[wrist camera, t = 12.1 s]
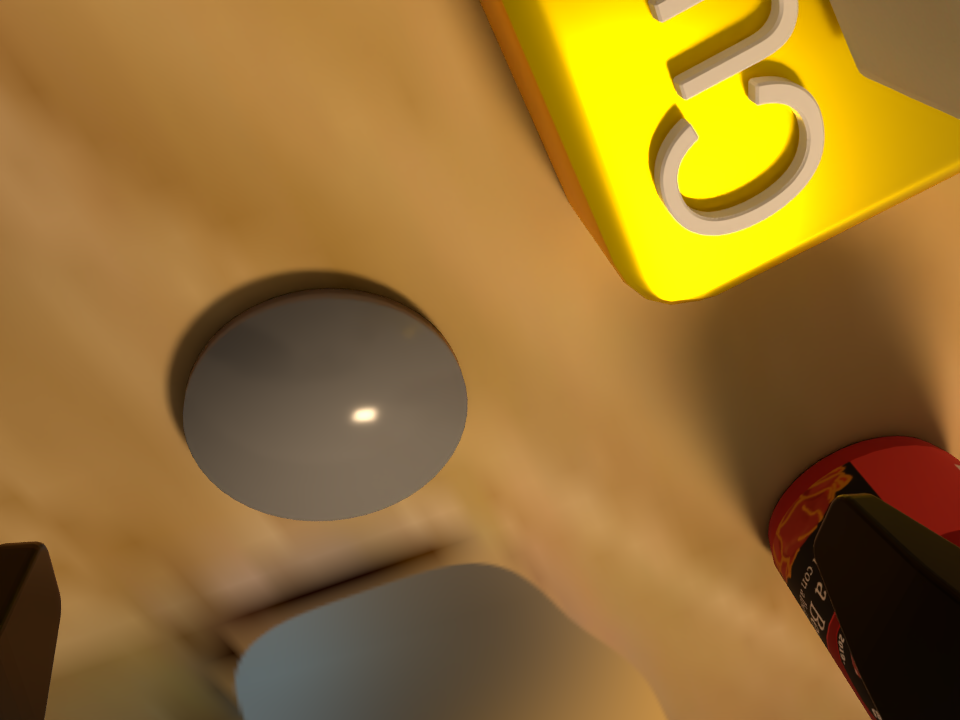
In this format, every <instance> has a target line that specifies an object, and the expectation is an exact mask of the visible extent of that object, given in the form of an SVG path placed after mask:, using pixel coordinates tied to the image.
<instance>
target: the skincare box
mask: <svg viewBox="0 0 960 720" xmlns="http://www.w3.org/2000/svg"><path fill="white" fill-rule="evenodd" d="M830 3H831V5H832V8H833V10H834V13H835V15H836V18H837V20H838V23H839V25H840V28H841V30H842V33H843V35H844V38H845V40H846V42H847V45H848V47H849V50H850V52H851V55H852V57H853V59H854V62H855V64H856V67H857V68H858V70H859V72H860V73H861V74H862V75H863V76H864V77H866V78H868V79H870V80H873V81H875V82H878V83H880V84H882V85H884V86H886V87H889V88H891V89H893V90H895V91H897V92H899V93H901V94H904V95H906V96H908V97H910V98H912V99H915V100H917V101H920V102H922V103H924V104H926V105H928V106H931V107H933V108H935V109H938V110H940V111H942V112H944V113H947V114H949V115H951V116H953V117H955V118H957V119H959V120H960V0H830Z"/></svg>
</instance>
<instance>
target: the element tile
mask: <svg viewBox="0 0 960 720" xmlns="http://www.w3.org/2000/svg"><path fill="white" fill-rule="evenodd" d="M479 1H480V3H481V5H482V8H483V10H484V12H485V15H486V17H487V19H488V21H489V24H490V26H491V28H492V30H493V33H494V35H495V37H496V39H497V42H498V44H499V46H500V48H501V51H502V53H503V55H504V57H505V60H506V62H507V64H508V66H509V69H510V71H511V73H512V75H513V78H514V80H515V82H516V84H517V87H518V89H519V91H520V93H521V96H522V98H523V100H524V102H525V105H526V107H527V109H528V111H529V114H530V116H531V118H532V121H533V123H534V125H535V127H536V130H537V132H538V134H539V136H540V139H541V141H542V143H543V145H544V148H545V150H546V152H547V154H548V157H549V159H550V161H551V163H552V166H553V168H554V170H555V172H556V175H557V177H558V179H559V181H560V184H561V186H562V188H563V190H564V193H565V195H566V197H567V199H568V202H569V203H570V205H571V206H572V208H573V209H574V211H575V212H576V214H577V215H578V217H579V218H580V220H581V221H582V222H583V224H584V225H585V227H586V228H587V230H588V231H589V233H590V234H591V235H592V237H593V238H594V240H595V241H596V243H597V244H598V246H599V247H600V248H601V250H602V251H603V253H604V254H605V256H606V257H607V259H608V260H609V261H610V263H611V264H612V266H613V267H614V269H615V270H616V272H617V273H618V274H619V276H620V277H621V279H622V280H623V282H625V283H626V284H627V285H628V286H630V287H631V288H632V289H634V290H635V291H636V292H637V293H639V294H640V295H641V296H643V297H644V298H646V299H648V300H653V301H657V302H661V303H666V304H670V305H672V304H679V303H686V302H693V301H700V300H703V299H707V298H710V297H713V296H717V295H719V294H721V293H723V292H725V291H727V290H728V289H730V288H732V287H734V286H736V285H738V284H740V283H742V282H744V281H746V280H748V279H750V278H752V277H754V276H756V275H758V274H760V273H762V272H764V271H766V270H768V269H770V268H772V267H774V266H776V265H778V264H780V263H782V262H784V261H786V260H788V259H790V258H792V257H794V256H796V255H798V254H800V253H802V252H804V251H806V250H808V249H810V248H812V247H814V246H816V245H818V244H820V243H822V242H824V241H826V240H828V239H830V238H832V237H834V236H836V235H838V234H839V233H841V232H843V231H845V230H847V229H849V228H851V227H853V226H855V225H857V224H859V223H861V222H863V221H865V220H867V219H869V218H871V217H873V216H875V215H877V214H879V213H881V212H883V211H885V210H887V209H889V208H891V207H893V206H895V205H897V204H899V203H901V202H903V201H905V200H907V199H909V198H911V197H913V196H915V195H917V194H919V193H921V192H923V191H925V190H927V189H929V188H931V187H933V186H935V185H937V184H939V183H941V182H943V181H945V180H947V179H949V178H951V177H952V176H954V175H956V174H958V173H960V120H959V119H957V118H955V117H953V116H951V115H949V114H947V113H944V112H942V111H940V110H938V109H935V108H933V107H931V106H928V105H926V104H924V103H922V102H920V101H917V100H915V99H912V98H910V97H908V96H906V95H904V94H901V93H899V92H897V91H895V90H893V89H891V88H889V87H886V86H884V85H882V84H880V83H878V82H875V81H873V80H870V79H868V78H866V77H864V76H863V75H862V74H861V73H860V72H859V70H858V68H857V67H856V64H855V62H854V59H853V57H852V55H851V52H850V50H849V47H848V45H847V42H846V40H845V38H844V35H843V33H842V30H841V28H840V25H839V23H838V20H837V18H836V15H835V13H834V10H833V8H832V5H831V3H830V0H479Z"/></svg>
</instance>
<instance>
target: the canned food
mask: <svg viewBox="0 0 960 720" xmlns="http://www.w3.org/2000/svg"><path fill="white" fill-rule="evenodd" d="M859 493H867V494H872V495H874V496H876V497H878V498H879V499H881V500H883V501H884V502H886V503H888V504H889V505H891V506H892V507H894V508H896V509H897V510H899V511H901V512H902V513H904V514H906V515H907V516H909V517H911V518H912V519H914V520H915V521H917V522H919V523H920V524H922V525H924V526H925V527H927V528H929V529H930V530H932V531H933V532H935V533H937V534H938V535H940V536H942V537H943V538H945V539H947V540H948V541H950V542H951V543H953V544H955V545H956V546H958V547H960V461H959V460H958V459H956V458H955V457H954V456H952V455H951V454H949V453H948V452H946V451H944V450H942V449H940V448H938V447H936V446H935V445H933V444H931V443H929V442H926V441H923V440H920V439H917V438H914V437H905V436H890V437H879V438H875V439H871V440H866V441H862V442H859V443H856V444H853V445H851V446H848V447H845V448H842V449H840V450H838V451H837V452H835V453H833V454H831V455H829V456H827V457H825V458H823V459H822V460H820V461H819V462H818V463H816V464H815V465H813V466H812V467H810V468H809V469H808V470H806V471H805V472H804V473H803V474H802V475H801V476H800V477H799V478H797V479H796V480H795V481H794V482H793V484H792V485H791V486H790V487H789V488H788V489H787V491H786V492H785V493H784V494H783V495H782V497H781V499H780V500H779V502H778V504H777V505H776V507H775V509H774V511H773V514H772V516H771V519H770V522H769V530H768V538H769V543H770V548H771V552H772V556H773V560H774V564H775V566H776V568H777V569H778V571H779V573H780V574H781V576H782V578H783V579H784V581H785V582H786V584H787V586H788V587H789V589H790V590H791V592H792V594H793V595H794V597H795V598H796V600H797V601H798V603H799V605H800V606H801V608H802V609H803V611H804V613H805V614H806V616H807V617H808V619H809V621H810V622H811V624H812V625H813V627H814V628H815V630H816V632H817V633H818V635H819V636H820V638H821V640H822V641H823V643H824V644H825V646H826V648H827V649H828V651H829V652H830V654H831V656H832V657H833V659H834V660H835V662H836V663H837V665H838V667H839V668H840V670H841V671H842V673H843V675H844V676H845V678H846V679H847V681H848V683H849V684H850V686H851V687H852V689H853V691H854V692H855V694H856V695H857V697H858V698H859V700H860V702H861V703H862V705H863V706H864V708H865V710H866V711H867V713H868V714H869V716H870V718H871V719H872V720H882V719H881V717H880V715H879V713H878V711H877V709H876V707H875V705H874V703H873V701H872V699H871V697H870V695H869V693H868V691H867V689H866V687H865V685H864V683H863V681H862V678H861V676H860V674H859V672H858V670H857V667H856V665H855V662H854V660H853V658H852V655H851V653H850V650H849V647H848V645H847V642H846V640H845V637H844V634H843V632H842V629H841V627H840V624H839V621H838V619H837V616H836V614H835V611H834V608H833V606H832V603H831V601H830V598H829V595H828V593H827V590H826V587H825V585H824V582H823V580H822V577H821V574H820V572H819V569H818V567H817V564H816V561H815V557H814V547H813V546H814V540H815V538H816V535H817V533H818V531H819V529H820V527H821V525H822V522H823V520H824V518H825V516H826V514H827V512H828V509H829V507H830V505H831V503H832V501H833V500H834V499H835V498H836V497H838V496H839V495H842V494H859Z"/></svg>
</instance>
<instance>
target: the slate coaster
mask: <svg viewBox="0 0 960 720" xmlns="http://www.w3.org/2000/svg"><path fill="white" fill-rule="evenodd" d="M466 417H467V393H466V386H465V382H464V379H463V376H462V373H461V370H460V367H459V363H458V360H457V358H456V356H455V354H454V352H453V350H452V348H451V346H450V345H449V344H448V342H447V341H446V339H445V338H444V337H443V335H442V334H441V333H440V332H439V331H438V330H437V329H436V328H435V327H434V326H433V325H432V324H431V323H430V322H429V321H427V320H426V319H425V318H424V317H422V316H421V315H420V314H418V313H417V312H415V311H413V310H412V309H410V308H408V307H406V306H405V305H403V304H401V303H398V302H396V301H394V300H391V299H389V298H386V297H383V296H379V295H376V294H372V293H369V292H363V291H357V290H351V289H333V288H326V289H312V290H304V291H299V292H294V293H288V294H285V295H282V296H279V297H275V298H272V299H269V300H267V301H265V302H262V303H260V304H258V305H256V306H253V307H251V308H250V309H248V310H246V311H245V312H243V313H241V314H240V315H238V316H236V317H235V318H233V319H232V320H231V321H230V322H228V323H227V324H226V325H225V326H223V327H222V328H221V329H220V330H219V331H218V332H217V333H216V334H215V335H214V336H213V337H212V338H211V339H210V340H209V341H208V343H207V344H206V346H205V347H204V348H203V350H202V351H201V353H200V354H199V355H198V357H197V360H196V362H195V364H194V366H193V368H192V370H191V373H190V376H189V379H188V382H187V387H186V393H185V401H184V408H183V426H184V432H185V436H186V441H187V444H188V446H189V449H190V451H191V454H192V456H193V458H194V459H195V461H196V463H197V464H198V466H199V467H200V469H201V470H202V471H203V473H204V474H205V475H206V476H207V477H208V478H209V480H210V481H211V482H212V483H214V484H215V485H216V486H217V487H218V488H219V489H220V490H221V491H223V492H224V493H226V494H227V495H229V496H230V497H232V498H233V499H234V500H236V501H238V502H240V503H242V504H244V505H246V506H248V507H250V508H253V509H255V510H258V511H260V512H263V513H266V514H270V515H274V516H277V517H281V518H287V519H294V520H303V521H333V520H341V519H349V518H354V517H358V516H363V515H367V514H370V513H373V512H376V511H379V510H382V509H384V508H387V507H389V506H391V505H394V504H396V503H398V502H400V501H401V500H403V499H405V498H407V497H409V496H410V495H412V494H413V493H415V492H416V491H418V490H419V489H420V488H422V487H423V486H424V485H426V484H427V483H428V482H429V481H430V480H431V479H432V478H434V477H435V476H436V475H437V473H438V472H439V471H440V470H441V469H442V468H443V467H444V466H445V464H446V463H447V462H448V460H449V459H450V457H451V456H452V455H453V453H454V451H455V449H456V447H457V445H458V443H459V441H460V439H461V436H462V433H463V430H464V427H465V422H466Z"/></svg>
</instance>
